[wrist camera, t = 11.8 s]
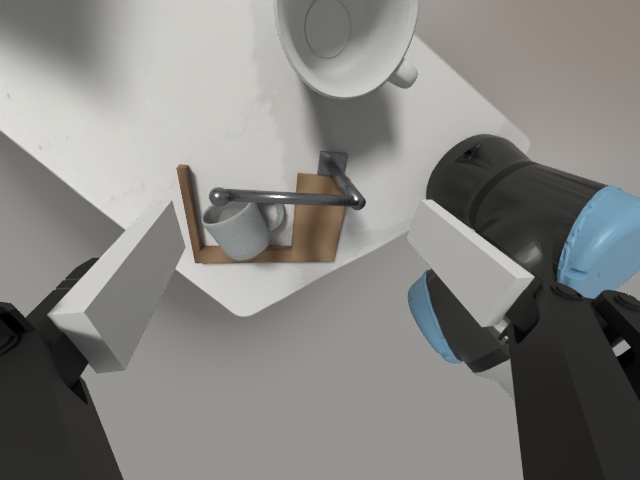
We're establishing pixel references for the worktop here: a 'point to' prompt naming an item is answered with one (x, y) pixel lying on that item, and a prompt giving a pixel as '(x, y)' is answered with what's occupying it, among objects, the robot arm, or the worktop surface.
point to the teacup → (348, 43)
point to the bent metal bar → (328, 166)
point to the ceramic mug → (240, 229)
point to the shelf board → (308, 228)
